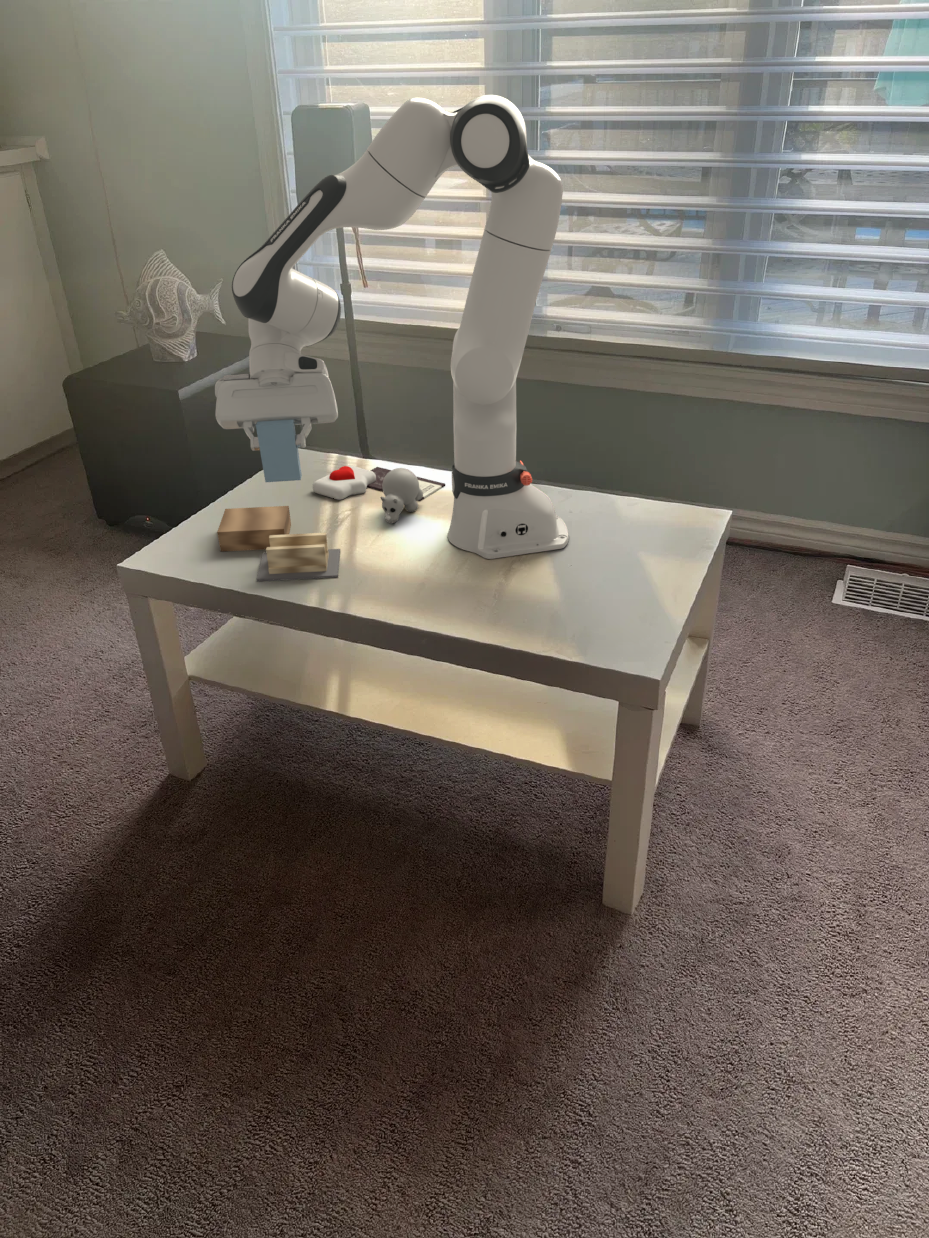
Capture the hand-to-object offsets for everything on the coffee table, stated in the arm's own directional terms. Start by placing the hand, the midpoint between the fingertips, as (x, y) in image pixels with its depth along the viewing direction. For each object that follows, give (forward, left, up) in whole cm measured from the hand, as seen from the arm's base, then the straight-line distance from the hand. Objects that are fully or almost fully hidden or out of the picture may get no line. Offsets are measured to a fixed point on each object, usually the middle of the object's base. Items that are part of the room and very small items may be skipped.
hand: (278, 447), depth 153 cm
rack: (-1, +2, -22) cm, 22 cm away
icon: (-9, -32, -22) cm, 40 cm away
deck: (+8, -10, -22) cm, 25 cm away
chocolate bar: (-19, -33, -22) cm, 44 cm away
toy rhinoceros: (-19, -18, -22) cm, 34 cm away
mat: (-1, +2, -22) cm, 22 cm away
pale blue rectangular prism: (0, -1, -6) cm, 6 cm away
